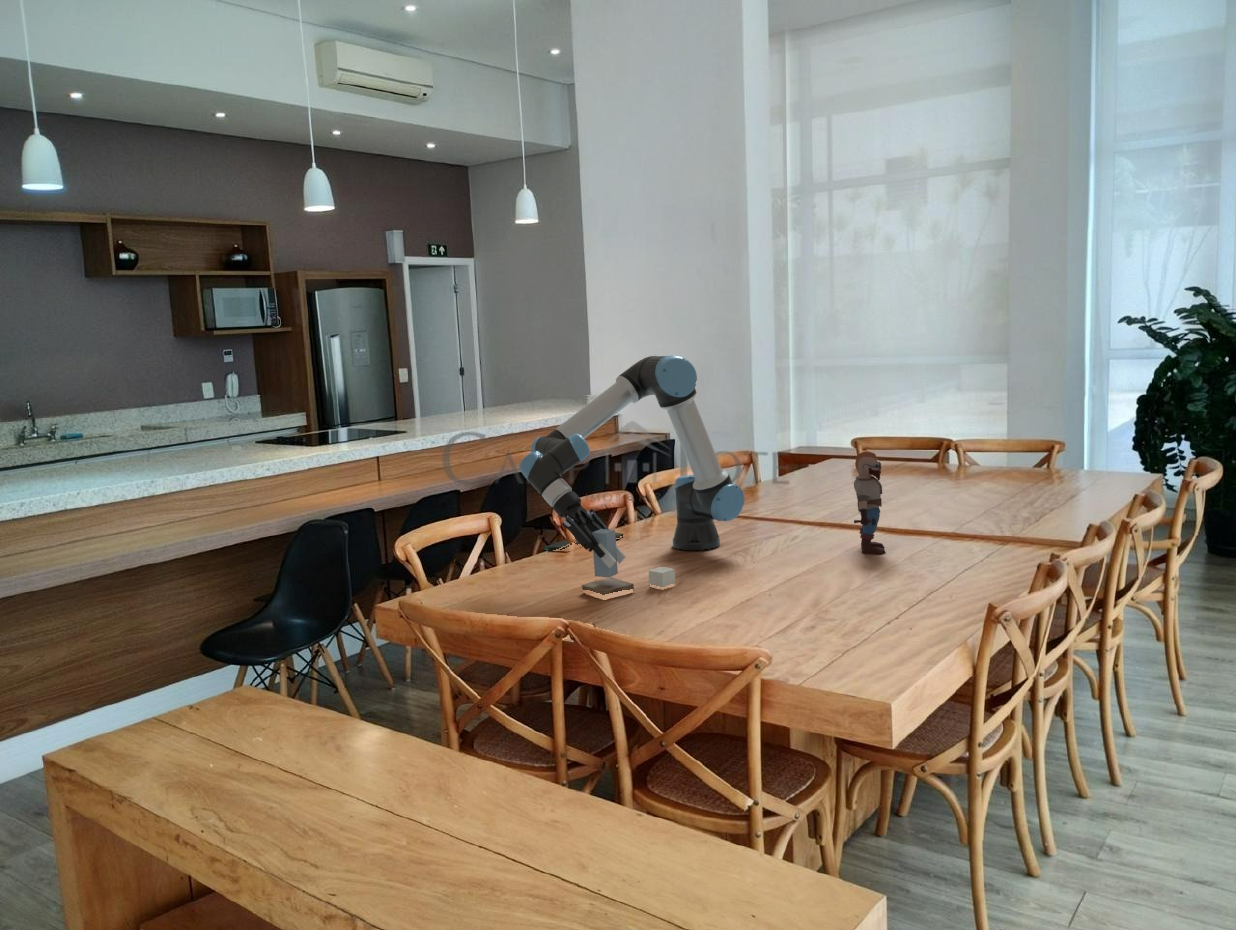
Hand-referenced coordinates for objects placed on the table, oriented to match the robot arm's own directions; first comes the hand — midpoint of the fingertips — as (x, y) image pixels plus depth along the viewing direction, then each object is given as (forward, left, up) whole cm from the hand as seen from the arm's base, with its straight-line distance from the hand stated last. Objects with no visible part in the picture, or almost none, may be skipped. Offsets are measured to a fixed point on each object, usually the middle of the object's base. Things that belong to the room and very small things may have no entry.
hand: (617, 562), depth 262 cm
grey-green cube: (-13, +3, -9) cm, 16 cm away
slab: (+1, -3, -9) cm, 10 cm away
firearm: (-29, -60, -10) cm, 67 cm away
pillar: (+2, -4, -4) cm, 5 cm away
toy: (-81, +17, -9) cm, 83 cm away
